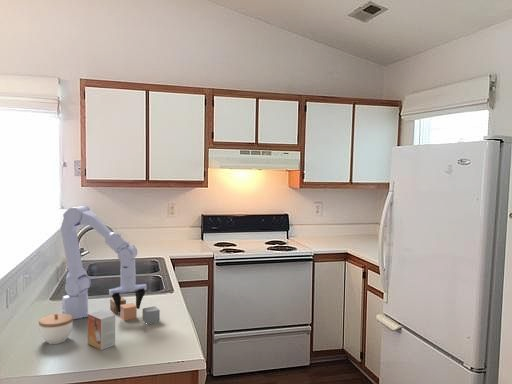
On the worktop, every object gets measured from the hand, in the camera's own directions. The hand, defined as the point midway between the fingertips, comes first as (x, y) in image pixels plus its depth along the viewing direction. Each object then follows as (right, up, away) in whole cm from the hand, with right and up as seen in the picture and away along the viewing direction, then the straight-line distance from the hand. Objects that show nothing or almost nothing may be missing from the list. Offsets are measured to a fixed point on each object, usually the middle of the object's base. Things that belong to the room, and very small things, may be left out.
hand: (128, 309), depth 173 cm
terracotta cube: (0, -3, 0) cm, 3 cm away
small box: (-1, -5, -26) cm, 27 cm away
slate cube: (+10, -4, -4) cm, 11 cm away
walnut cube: (-7, -3, +8) cm, 11 cm away
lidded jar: (-18, -5, -23) cm, 30 cm away
